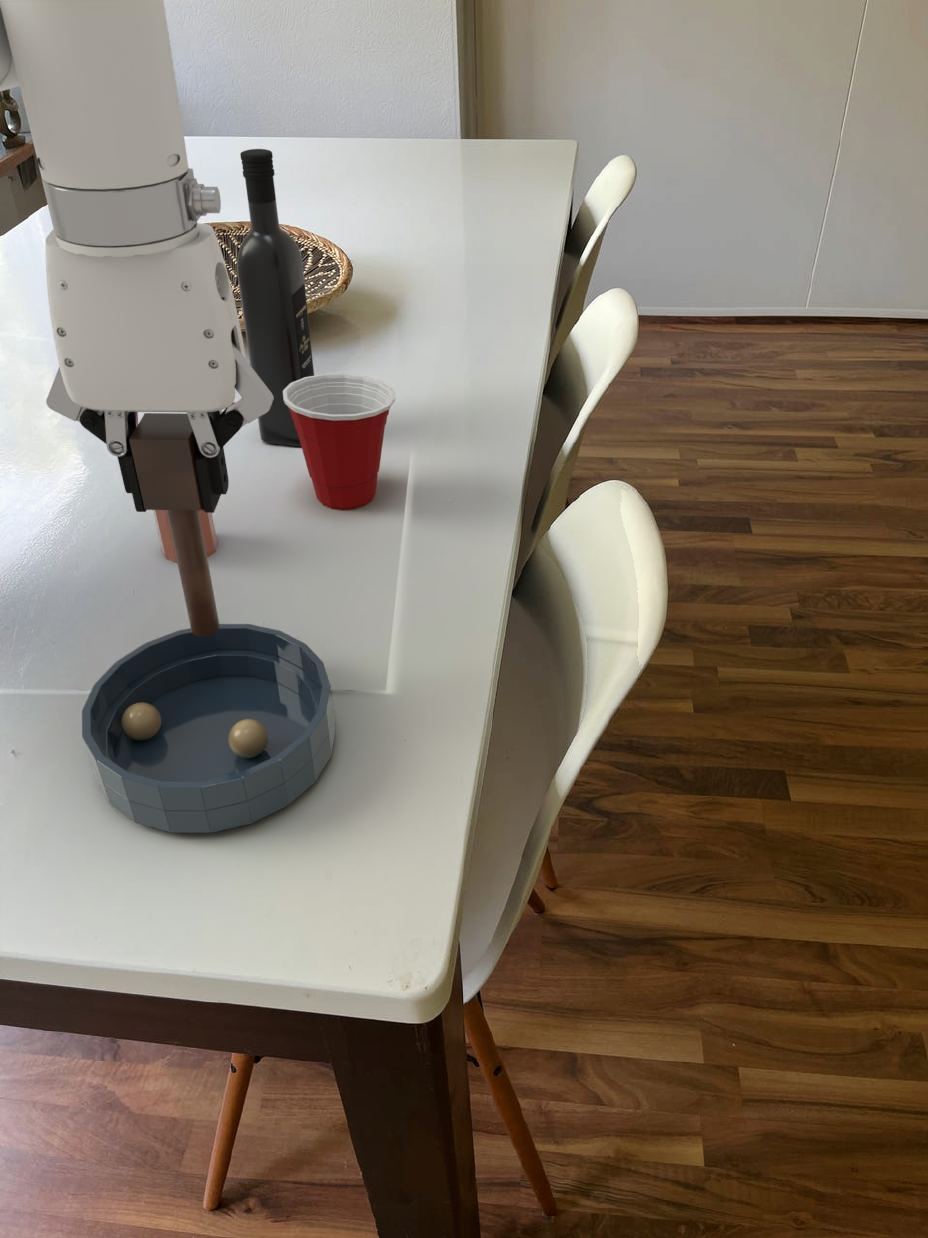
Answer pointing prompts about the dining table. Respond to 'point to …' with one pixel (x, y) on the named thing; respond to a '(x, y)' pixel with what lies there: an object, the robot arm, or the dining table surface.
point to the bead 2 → (248, 738)
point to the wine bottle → (272, 299)
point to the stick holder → (166, 536)
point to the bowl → (210, 727)
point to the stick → (177, 505)
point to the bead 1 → (141, 721)
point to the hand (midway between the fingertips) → (180, 498)
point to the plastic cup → (341, 434)
